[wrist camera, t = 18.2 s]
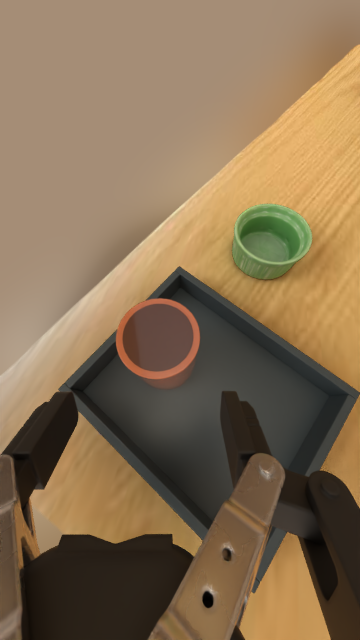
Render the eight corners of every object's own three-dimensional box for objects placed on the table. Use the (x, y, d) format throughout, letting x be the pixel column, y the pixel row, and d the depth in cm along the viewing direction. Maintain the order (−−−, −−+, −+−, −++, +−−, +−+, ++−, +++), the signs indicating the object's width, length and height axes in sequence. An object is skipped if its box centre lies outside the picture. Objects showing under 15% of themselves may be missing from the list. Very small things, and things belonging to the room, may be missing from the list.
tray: (242, 563, 20) (254, 594, 16) (74, 392, 25) (57, 389, 21) (336, 395, 24) (360, 392, 21) (179, 282, 30) (179, 265, 26)
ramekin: (214, 261, 31) (219, 238, 27) (249, 219, 33) (258, 192, 29) (275, 297, 29) (290, 278, 25) (306, 249, 31) (325, 225, 27)
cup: (168, 403, 24) (161, 398, 15) (125, 364, 25) (97, 341, 17) (205, 357, 25) (217, 330, 17) (163, 323, 27) (155, 283, 19)
